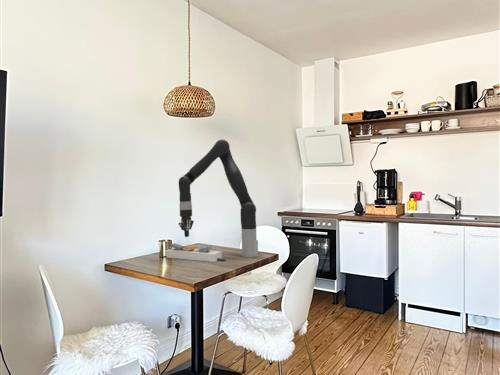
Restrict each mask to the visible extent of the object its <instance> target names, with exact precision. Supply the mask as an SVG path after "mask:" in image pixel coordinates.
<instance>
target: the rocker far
mask: <svg viewBox="0 0 500 375" xmlns="http://www.w3.org/2000/svg"><path fill="white" fill-rule="evenodd" d="M171 247H172V248H175V249H178V250H182V249H183V248H184V247H185V246H184V245H181V244H178V243H175V242H174V243H171V244H170V248H171Z"/></svg>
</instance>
